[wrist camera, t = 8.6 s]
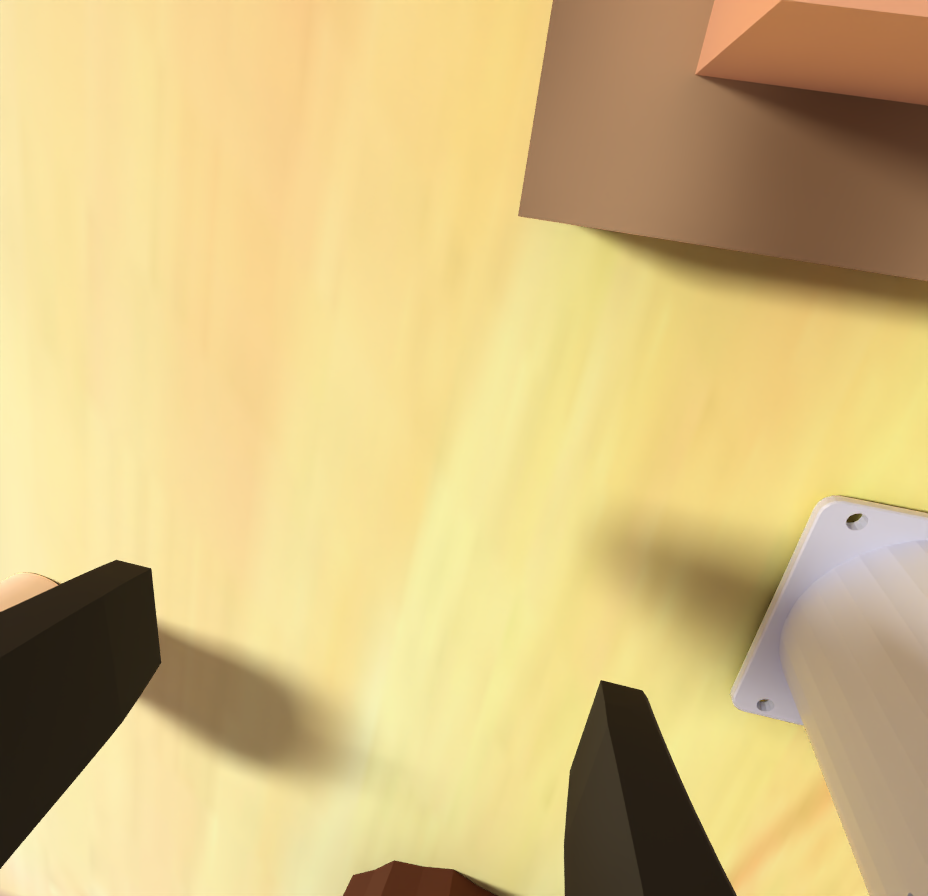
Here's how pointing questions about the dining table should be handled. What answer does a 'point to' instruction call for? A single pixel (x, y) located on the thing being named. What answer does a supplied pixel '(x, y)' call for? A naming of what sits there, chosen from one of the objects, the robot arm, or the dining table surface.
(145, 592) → the robot arm
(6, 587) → the smoothie
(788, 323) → the dining table surface
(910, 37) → the terracotta cube
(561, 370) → the dining table surface
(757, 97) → the walnut block
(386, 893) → the muffin
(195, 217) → the dining table surface
